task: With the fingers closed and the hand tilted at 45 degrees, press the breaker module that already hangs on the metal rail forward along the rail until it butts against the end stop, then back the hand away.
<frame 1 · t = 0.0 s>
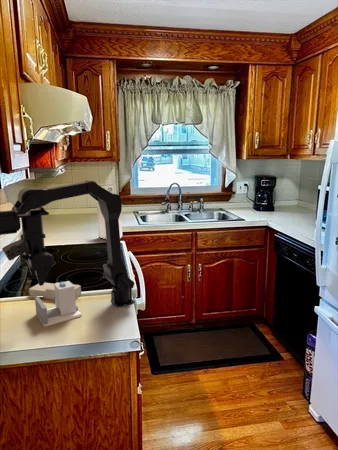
hand: (37, 280, 103), 15 cm above the counter, tool pointing down, fingers open, 9 cm apart
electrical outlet: (55, 296, 128), on the counter
module: (65, 296, 112), point 6 cm above the counter, slide at 0.0 cm
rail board: (58, 315, 112), on the counter
pale rounded upright block: (109, 238, 210), on the counter
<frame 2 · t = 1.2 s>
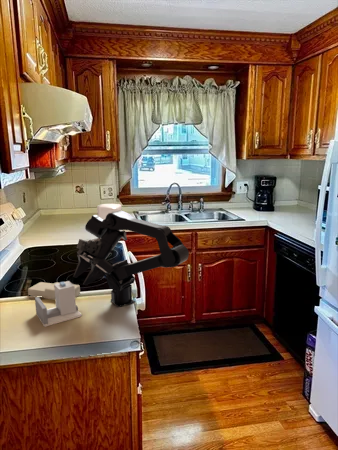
hand: (79, 280, 113), 11 cm above the counter, tool tilted 45°, fingers open, 9 cm apart
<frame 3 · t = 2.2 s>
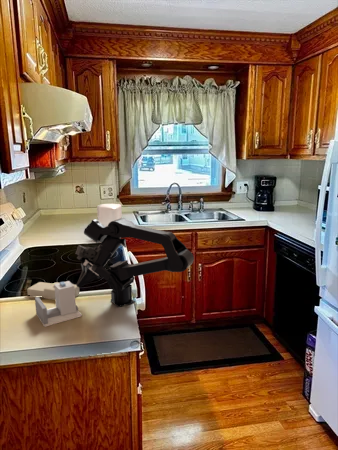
hand: (77, 286, 114), 8 cm above the counter, tool tilted 45°, fingers closed
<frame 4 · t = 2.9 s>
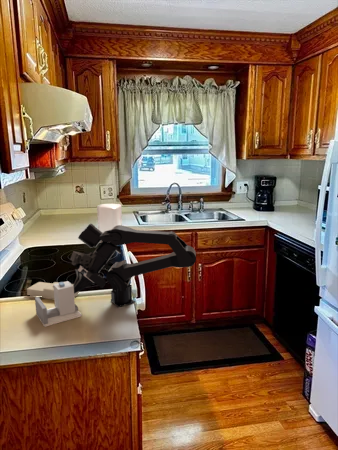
hand: (72, 292, 113), 7 cm above the counter, tool tilted 45°, fingers closed
module: (64, 296, 112), point 6 cm above the counter, slide at 0.3 cm, touching gripper
everything else where it was.
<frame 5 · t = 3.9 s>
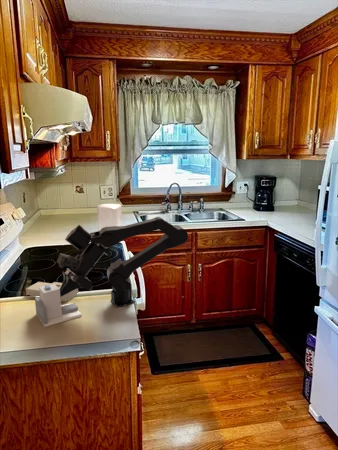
hand: (58, 296, 111), 7 cm above the counter, tool tilted 45°, fingers closed, pressing on module
module: (50, 300, 109), point 6 cm above the counter, slide at 4.8 cm, touching gripper
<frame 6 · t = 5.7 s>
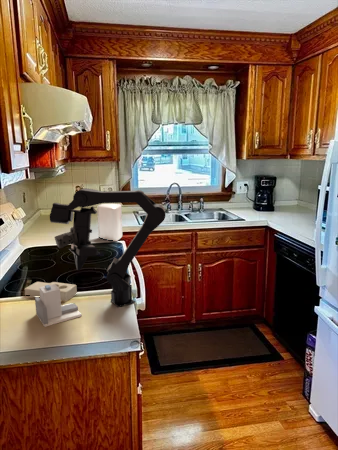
hand: (78, 269, 116), 13 cm above the counter, tool pointing down, fingers closed
module: (50, 300, 109), point 6 cm above the counter, slide at 4.7 cm
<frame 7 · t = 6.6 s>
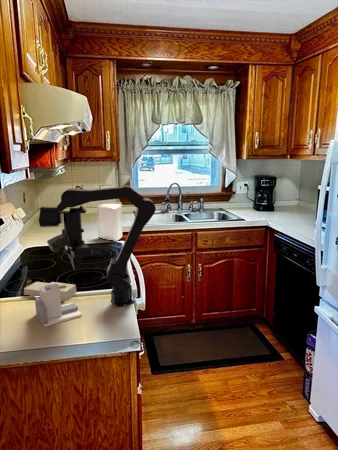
hand: (75, 270, 116), 13 cm above the counter, tool pointing down, fingers closed
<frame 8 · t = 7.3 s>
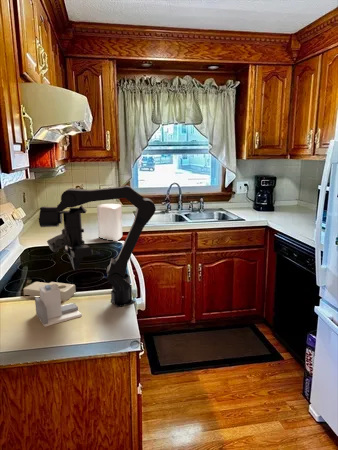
hand: (75, 270, 116), 13 cm above the counter, tool pointing down, fingers closed
at the end: module slide at 4.7 cm; the gripper is holding nothing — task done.
